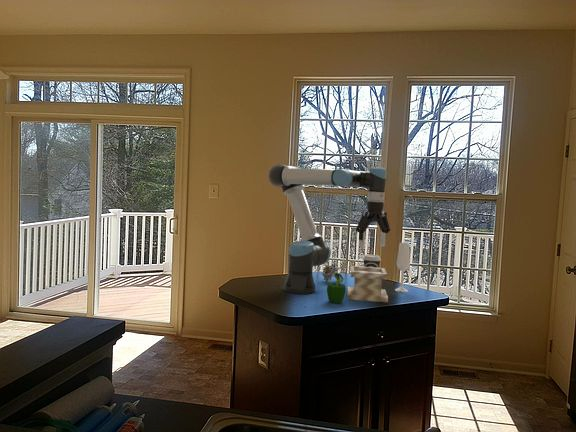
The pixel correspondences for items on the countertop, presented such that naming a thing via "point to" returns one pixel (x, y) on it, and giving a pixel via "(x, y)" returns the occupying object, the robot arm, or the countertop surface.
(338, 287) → the bell pepper
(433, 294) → the countertop surface
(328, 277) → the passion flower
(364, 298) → the display stand
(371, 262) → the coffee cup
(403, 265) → the champagne flute
